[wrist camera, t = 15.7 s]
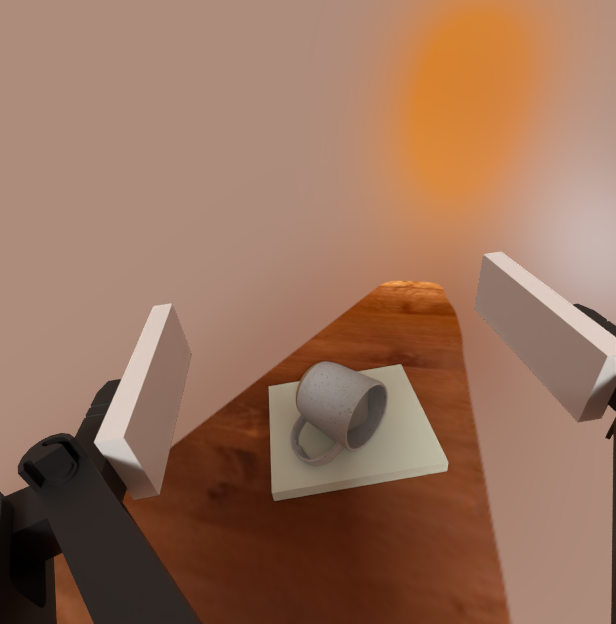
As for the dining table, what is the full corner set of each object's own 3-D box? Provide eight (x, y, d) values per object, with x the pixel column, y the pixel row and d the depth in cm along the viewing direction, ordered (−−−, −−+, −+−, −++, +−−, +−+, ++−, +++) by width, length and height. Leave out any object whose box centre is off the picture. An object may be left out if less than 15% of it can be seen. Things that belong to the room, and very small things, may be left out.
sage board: (274, 501, 38) (271, 493, 37) (270, 394, 50) (268, 386, 49) (447, 470, 38) (448, 462, 37) (400, 372, 50) (400, 364, 50)
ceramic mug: (334, 388, 47) (328, 342, 43) (390, 418, 42) (389, 370, 38) (275, 446, 41) (261, 399, 37) (332, 489, 36) (323, 441, 32)
